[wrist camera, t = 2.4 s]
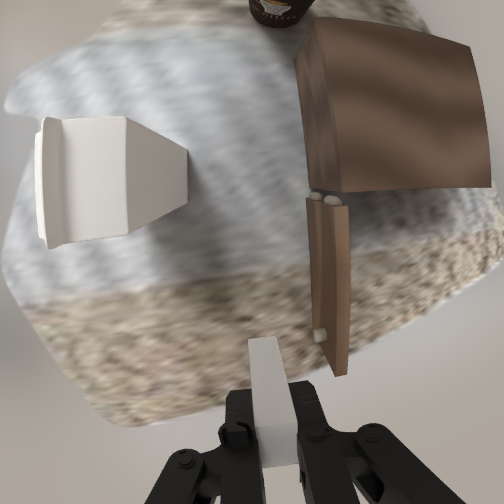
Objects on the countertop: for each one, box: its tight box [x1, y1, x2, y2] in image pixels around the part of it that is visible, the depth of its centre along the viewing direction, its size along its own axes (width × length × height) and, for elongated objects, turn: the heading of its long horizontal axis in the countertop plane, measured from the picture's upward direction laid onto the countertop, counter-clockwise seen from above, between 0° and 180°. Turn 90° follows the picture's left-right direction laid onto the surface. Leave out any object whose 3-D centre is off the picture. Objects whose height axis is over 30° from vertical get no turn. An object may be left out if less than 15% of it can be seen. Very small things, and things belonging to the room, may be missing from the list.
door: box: [306, 192, 350, 377], centre depth 29 cm, size 2×17×10 cm, turn 6°
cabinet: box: [294, 17, 492, 193], centre depth 26 cm, size 15×17×11 cm
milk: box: [35, 116, 188, 249], centre depth 21 cm, size 6×6×22 cm
